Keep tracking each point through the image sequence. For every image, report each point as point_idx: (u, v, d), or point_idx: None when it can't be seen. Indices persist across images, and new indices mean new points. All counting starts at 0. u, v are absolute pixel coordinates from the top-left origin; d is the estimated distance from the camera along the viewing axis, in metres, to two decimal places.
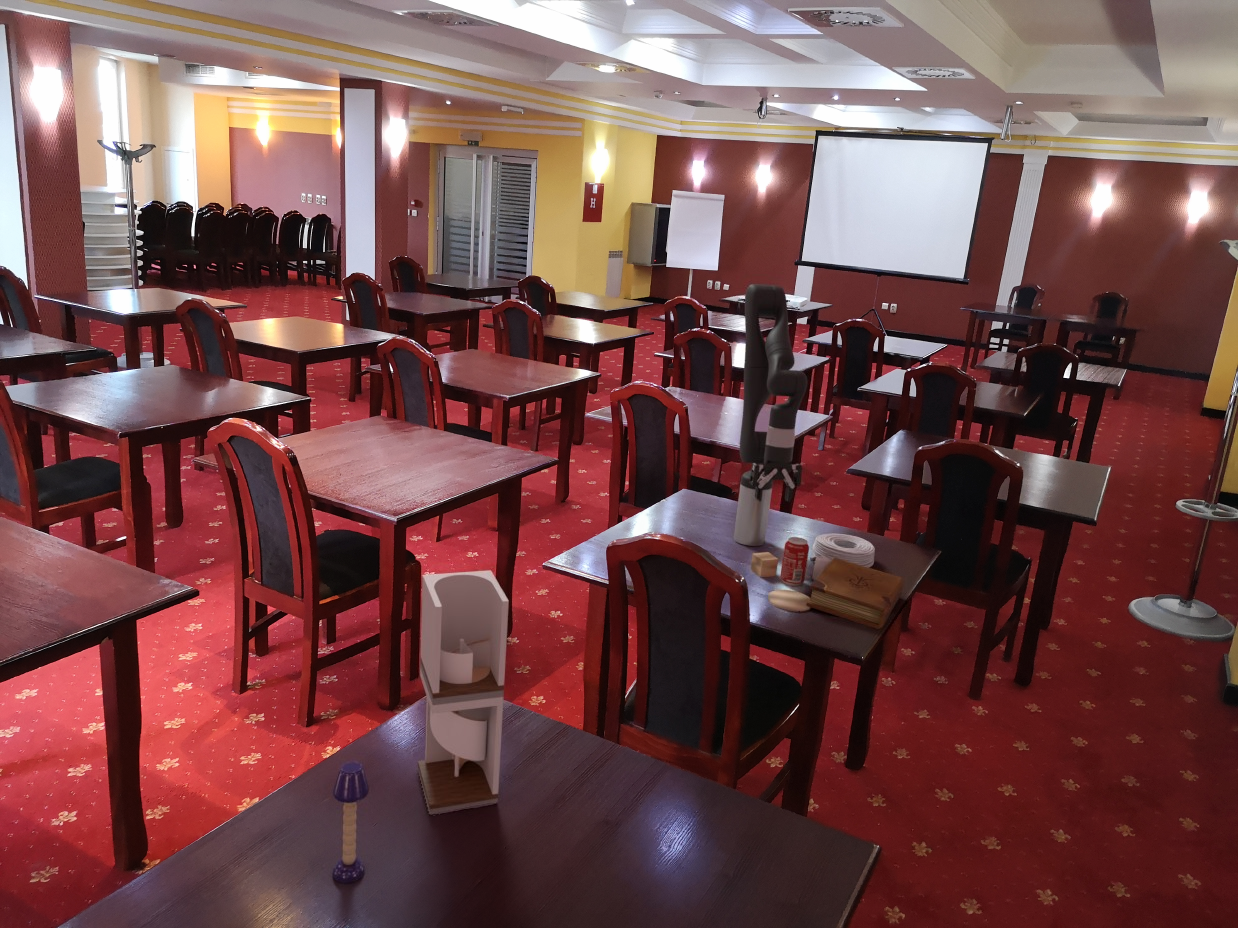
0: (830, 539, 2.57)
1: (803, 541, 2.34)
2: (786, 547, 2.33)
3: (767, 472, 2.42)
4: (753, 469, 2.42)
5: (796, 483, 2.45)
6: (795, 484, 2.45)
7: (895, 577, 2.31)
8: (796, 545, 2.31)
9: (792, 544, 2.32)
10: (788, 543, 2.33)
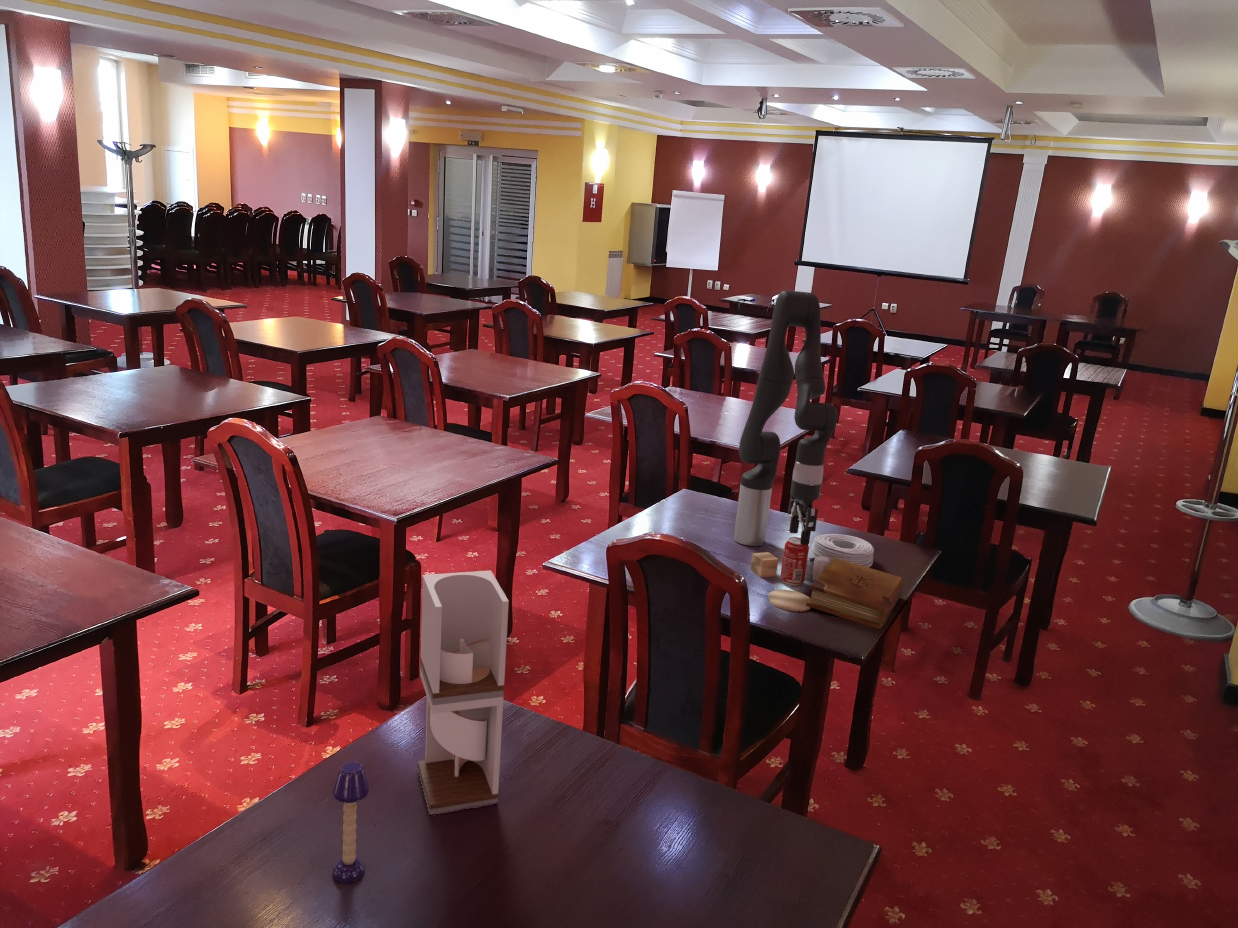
0: (829, 539, 2.57)
1: None
2: (786, 547, 2.33)
3: None
4: (813, 515, 2.24)
5: None
6: None
7: (895, 577, 2.31)
8: (796, 545, 2.31)
9: (792, 544, 2.32)
10: (788, 543, 2.33)
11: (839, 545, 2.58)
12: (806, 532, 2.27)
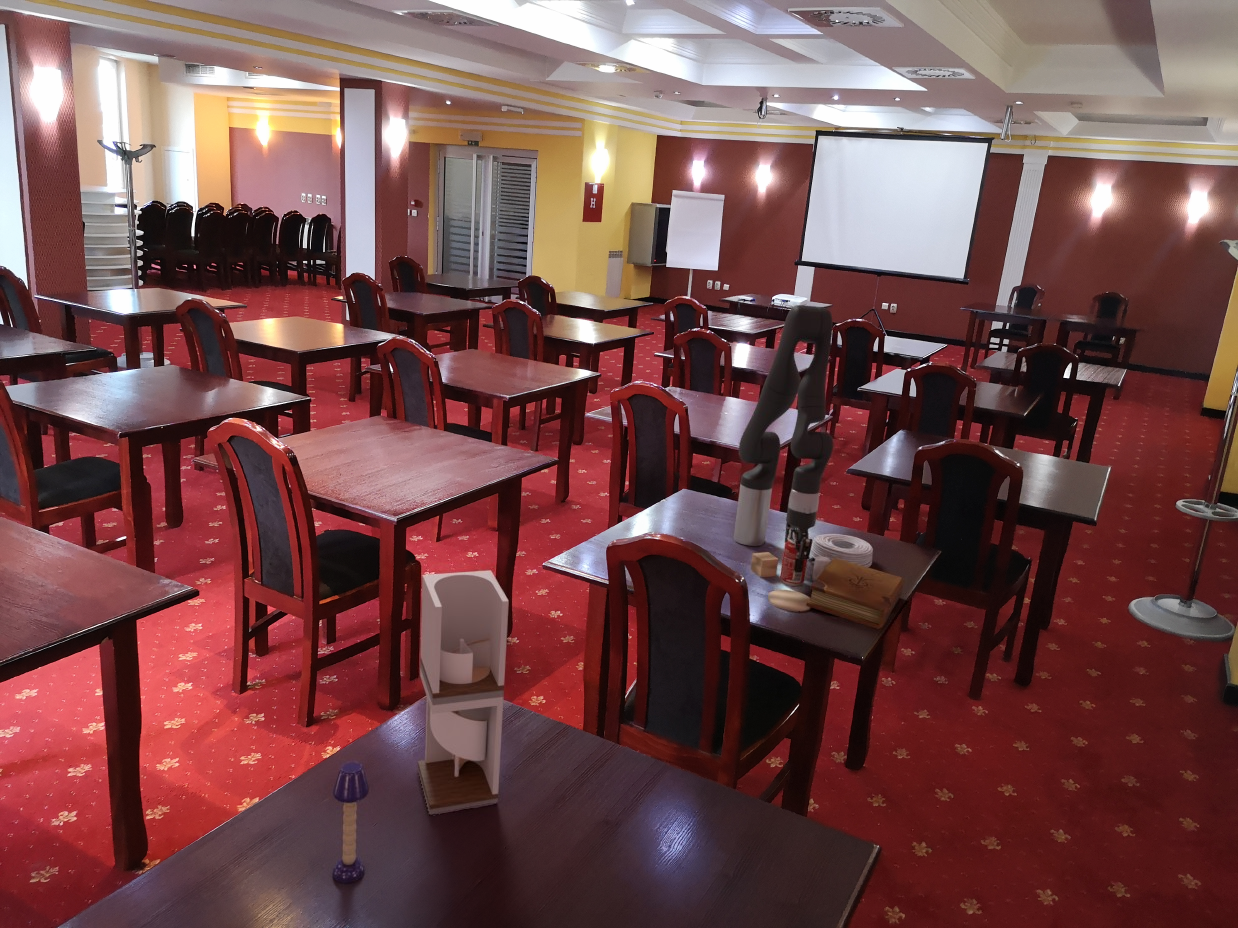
0: (828, 539, 2.57)
1: None
2: (786, 547, 2.33)
3: None
4: (807, 545, 2.27)
5: None
6: None
7: (895, 577, 2.31)
8: None
9: (792, 544, 2.32)
10: (788, 543, 2.33)
11: (838, 545, 2.58)
12: (799, 560, 2.31)
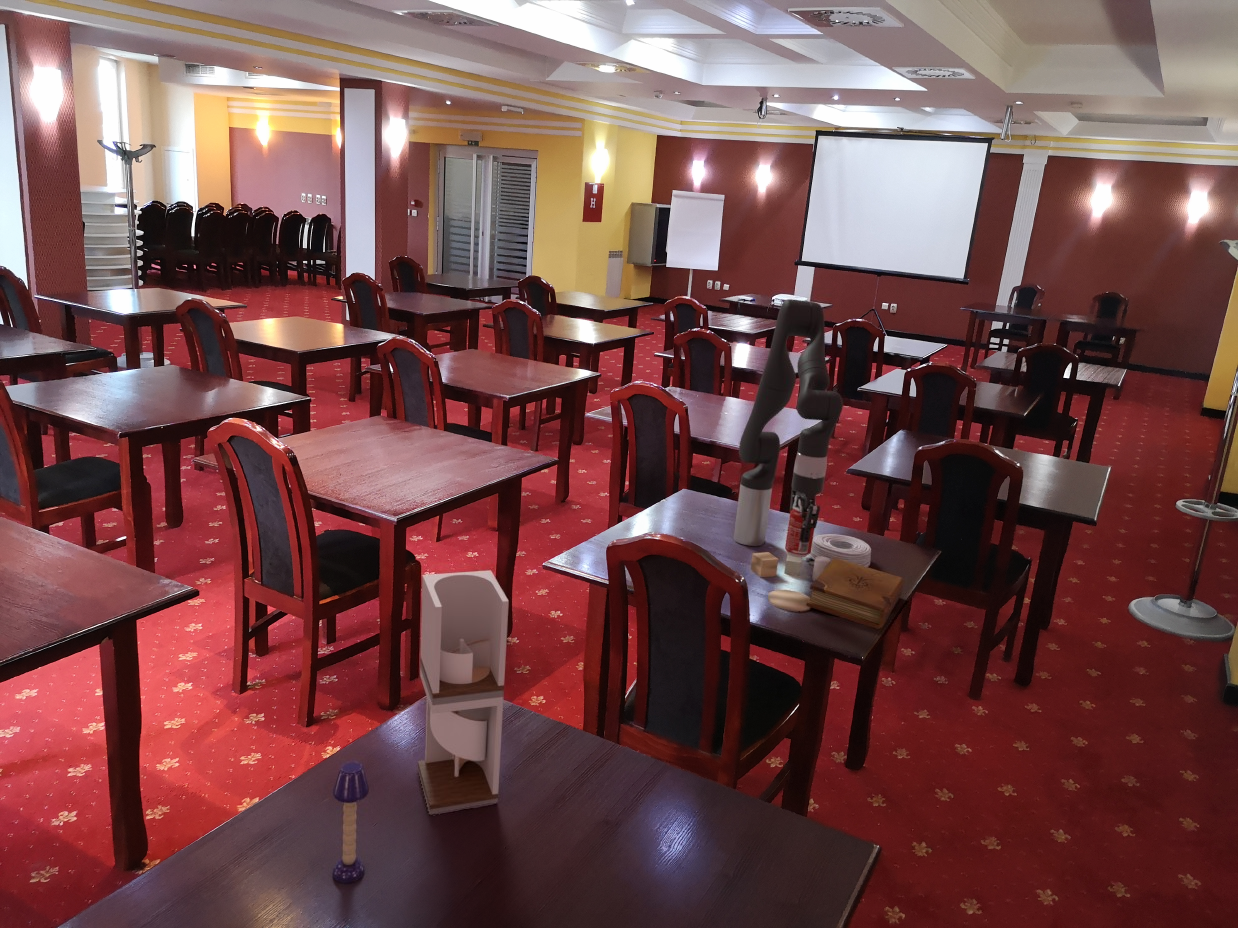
0: (826, 540, 2.56)
1: None
2: (791, 515, 2.17)
3: None
4: (814, 513, 2.11)
5: None
6: None
7: (895, 577, 2.31)
8: None
9: (798, 512, 2.16)
10: (794, 511, 2.17)
11: (836, 545, 2.58)
12: (806, 529, 2.15)
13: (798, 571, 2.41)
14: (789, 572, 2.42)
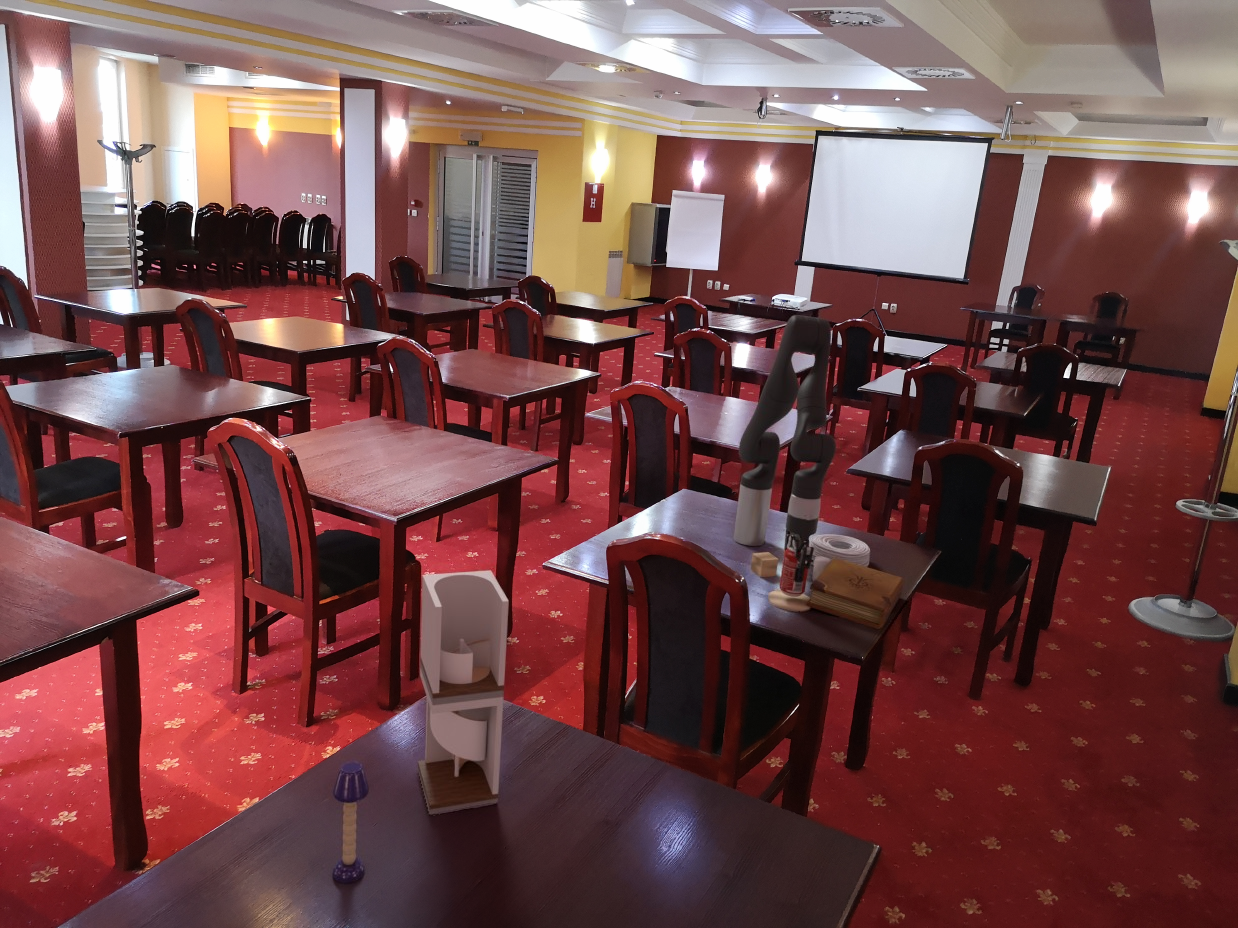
0: (825, 540, 2.56)
1: None
2: (786, 555, 2.20)
3: None
4: (808, 554, 2.14)
5: None
6: None
7: (895, 577, 2.31)
8: None
9: (792, 552, 2.19)
10: (788, 551, 2.20)
11: (835, 545, 2.58)
12: (800, 569, 2.18)
13: None
14: None
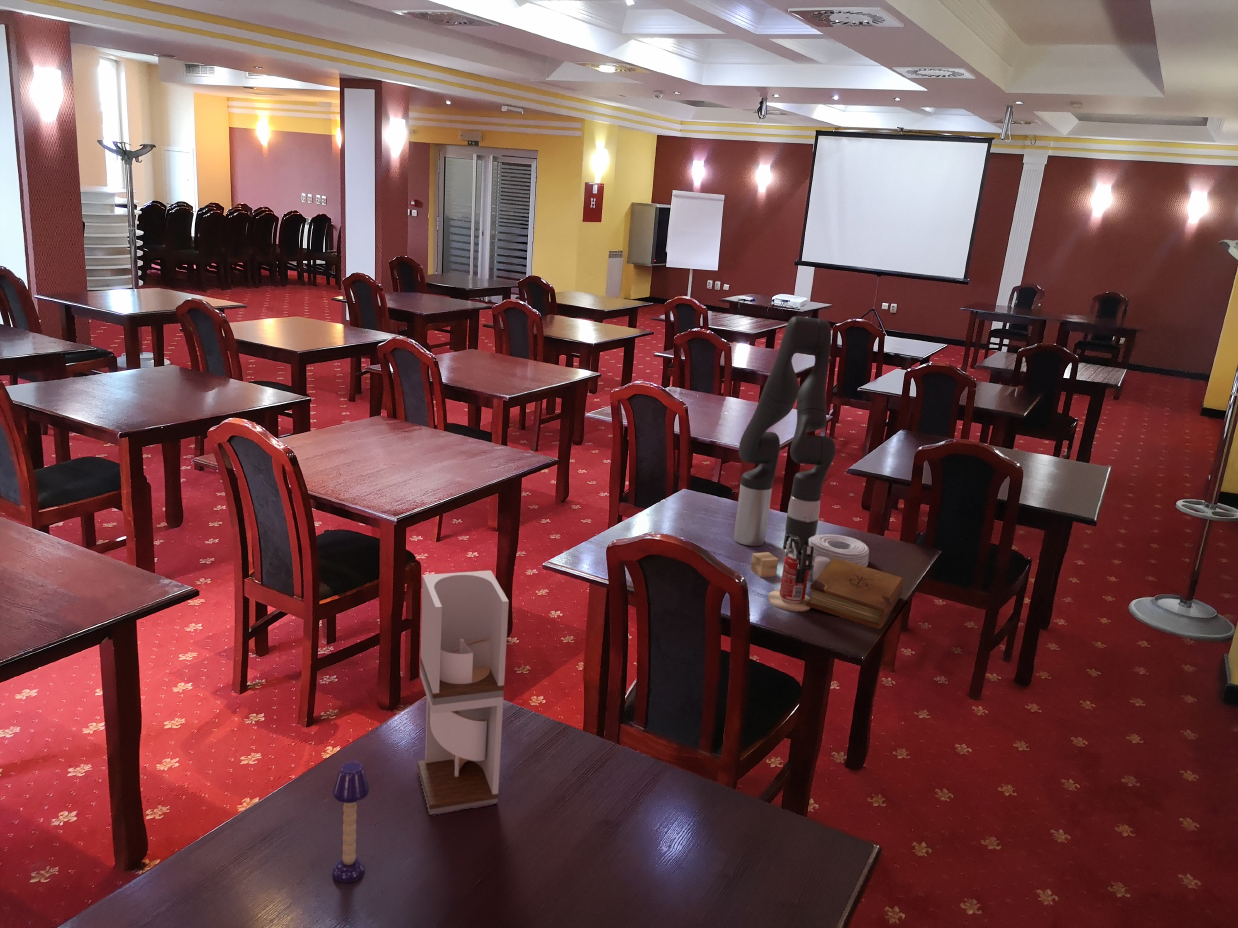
0: (824, 540, 2.56)
1: None
2: (786, 562, 2.20)
3: None
4: (809, 553, 2.14)
5: None
6: None
7: (895, 577, 2.31)
8: None
9: (791, 559, 2.19)
10: (788, 558, 2.20)
11: (834, 546, 2.58)
12: (801, 570, 2.17)
13: None
14: None
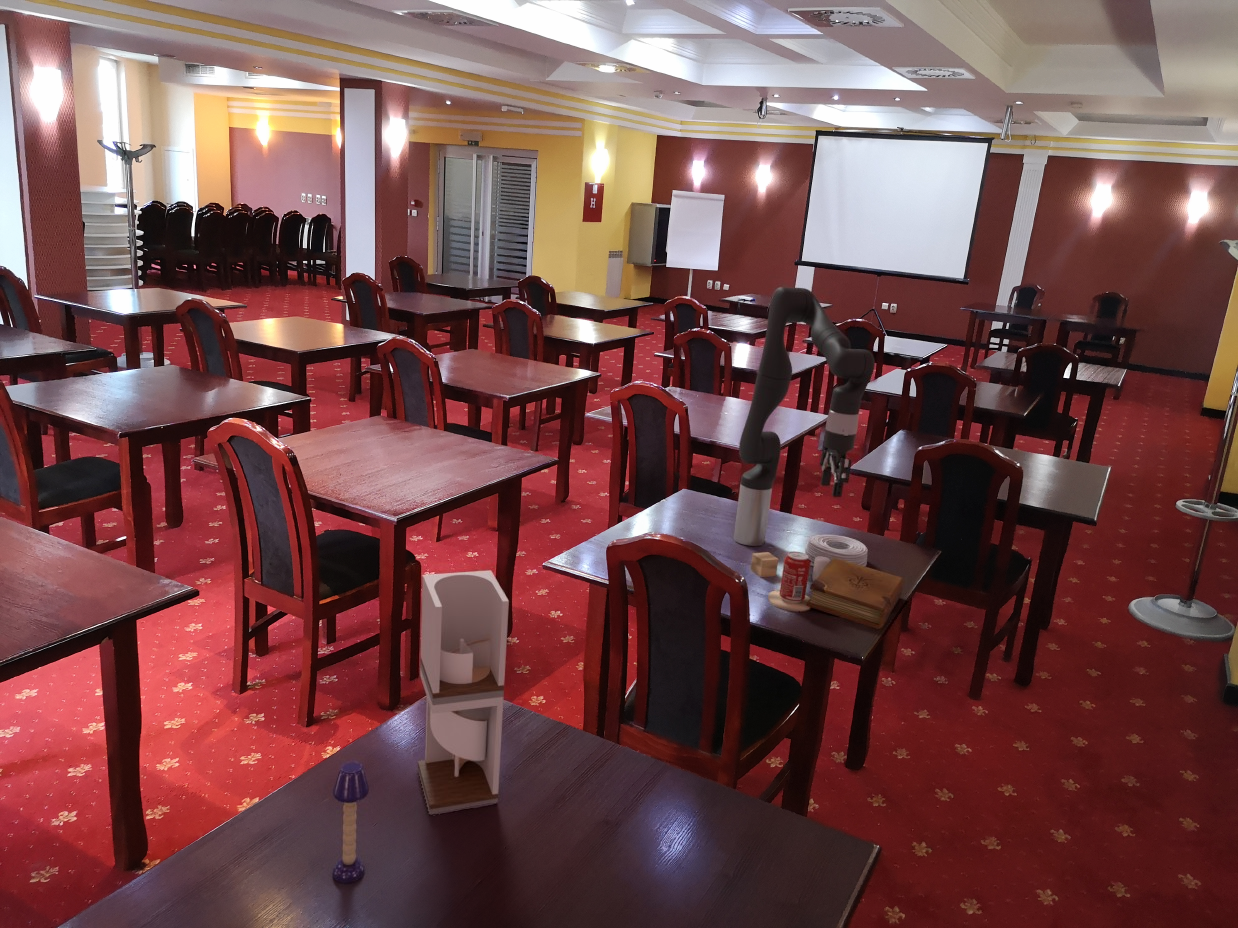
0: (823, 540, 2.56)
1: (804, 556, 2.21)
2: (786, 562, 2.20)
3: None
4: (846, 466, 2.16)
5: None
6: None
7: (895, 577, 2.31)
8: (796, 560, 2.19)
9: (792, 559, 2.19)
10: (788, 558, 2.20)
11: (833, 546, 2.57)
12: (839, 484, 2.19)
13: None
14: None
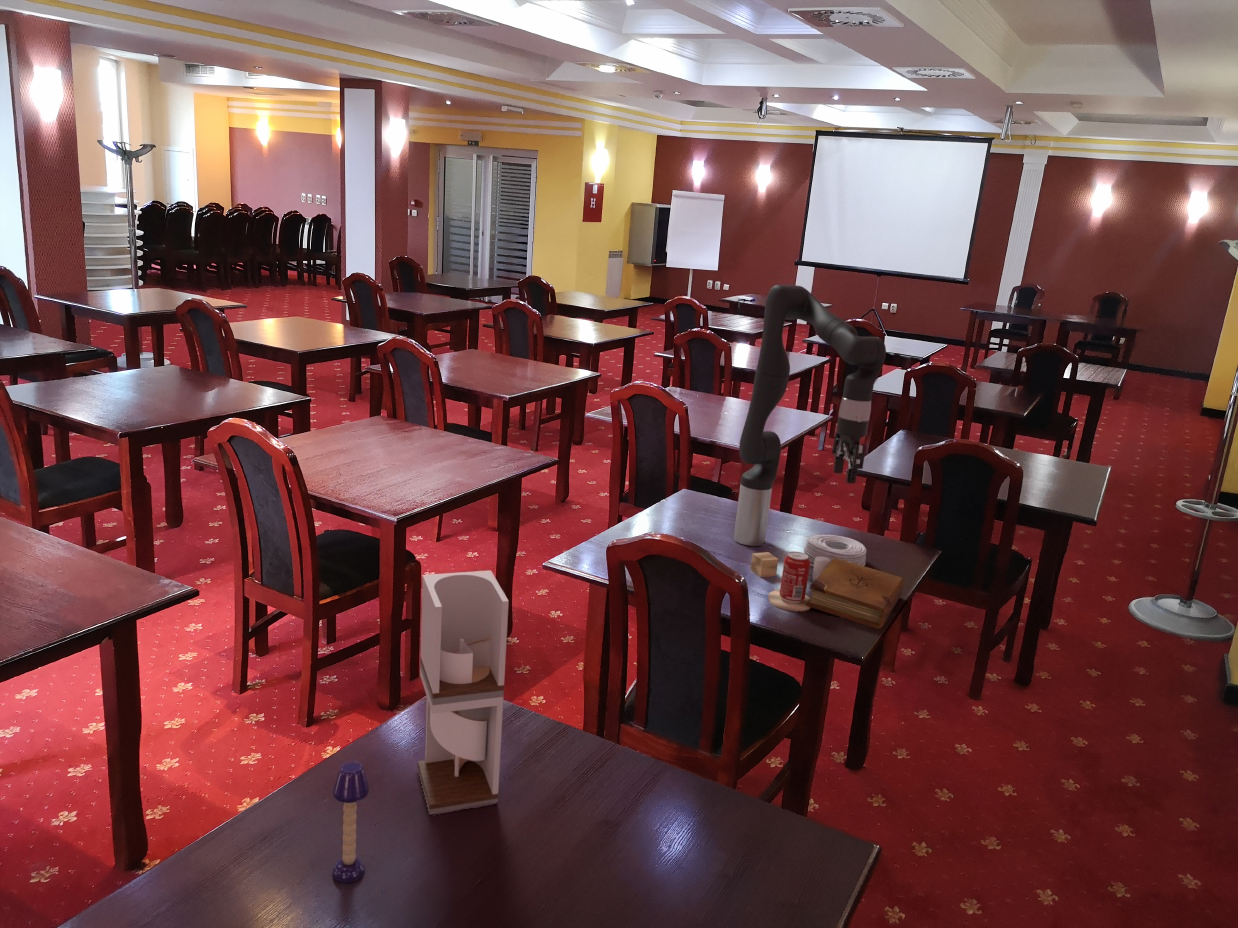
0: (822, 540, 2.55)
1: (804, 556, 2.21)
2: (786, 562, 2.20)
3: None
4: (860, 452, 2.19)
5: None
6: None
7: (895, 577, 2.31)
8: (796, 560, 2.19)
9: (792, 559, 2.19)
10: (788, 558, 2.20)
11: (832, 546, 2.57)
12: (853, 470, 2.22)
13: None
14: None
